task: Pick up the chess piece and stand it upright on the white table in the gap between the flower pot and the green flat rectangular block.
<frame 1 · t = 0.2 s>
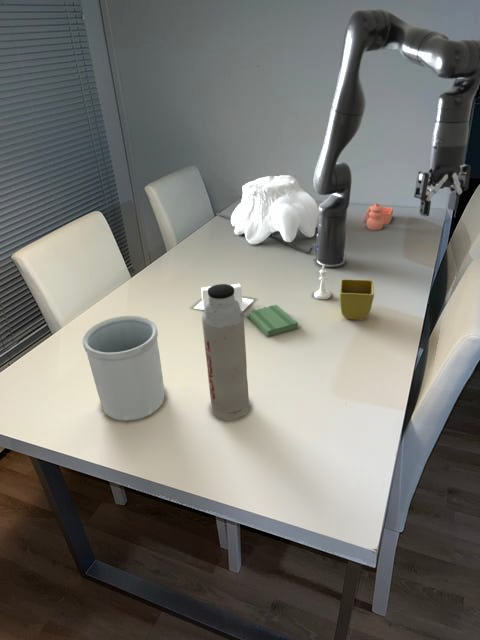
hand: (438, 212, 117), 29 cm above the table, tool pointing down, fingers open, 8 cm apart
tree stump: (275, 229, 201), on the table
utensil holder: (134, 401, 107), on the table
flower pot: (354, 316, 135), on the table
pottery: (377, 223, 201), on the table
napkin holder: (223, 304, 145), on the table
green flat rectangular block: (272, 322, 134), on the table
chess piece: (322, 296, 147), on the table
thermos bottle: (230, 408, 103), on the table
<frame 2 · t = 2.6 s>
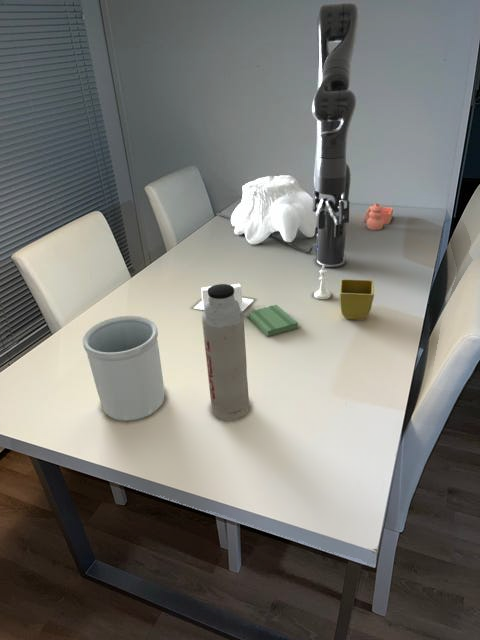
hand: (329, 232, 136), 20 cm above the table, tool pointing down, fingers open, 8 cm apart
nothing on the table moved.
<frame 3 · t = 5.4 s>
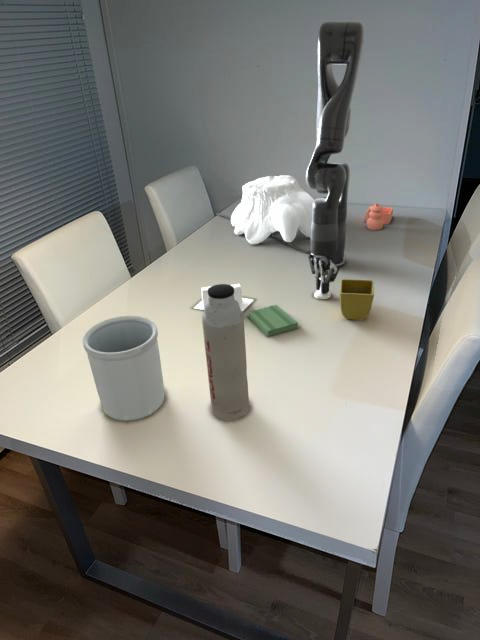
hand: (322, 290, 146), 2 cm above the table, tool pointing down, fingers closed on chess piece
chess piece: (322, 296, 147), on the table, touching gripper
everything else where it was.
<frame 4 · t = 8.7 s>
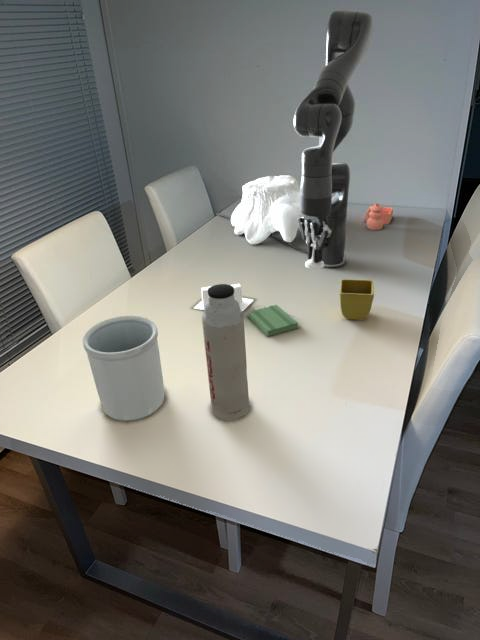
hand: (314, 259, 126), 18 cm above the table, tool pointing down, fingers closed on chess piece
chess piece: (314, 266, 127), point 16 cm above the table, touching gripper
everything else where it was.
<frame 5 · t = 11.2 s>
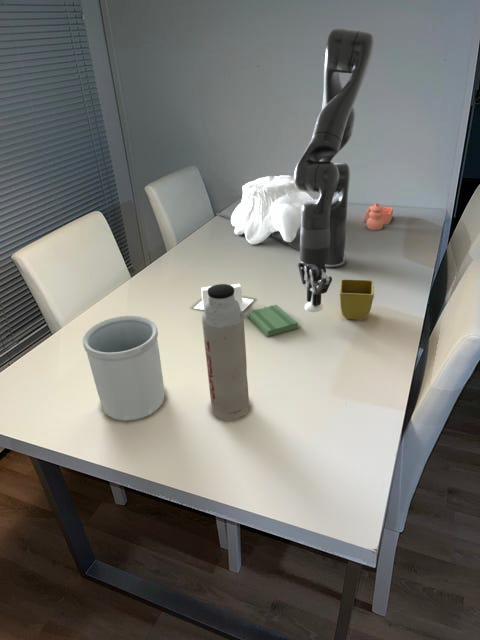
hand: (313, 302, 132), 5 cm above the table, tool pointing down, fingers closed on chess piece
chess piece: (313, 308, 133), point 3 cm above the table, touching gripper
everything else where it was.
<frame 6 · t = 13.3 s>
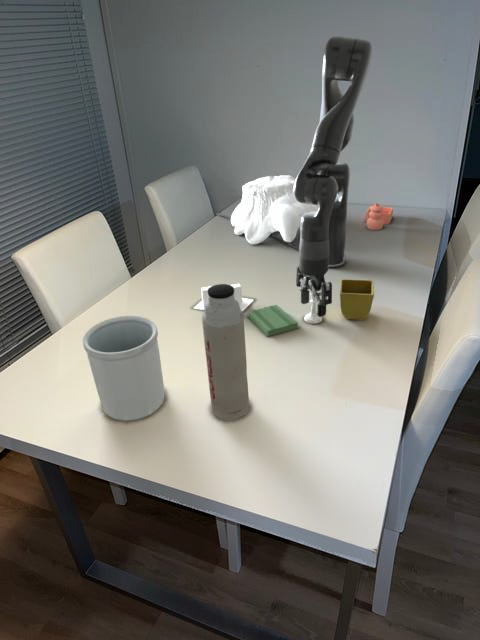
hand: (312, 309, 133), 3 cm above the table, tool pointing down, fingers open, 8 cm apart
chess piece: (313, 319, 134), on the table
everything else where it was.
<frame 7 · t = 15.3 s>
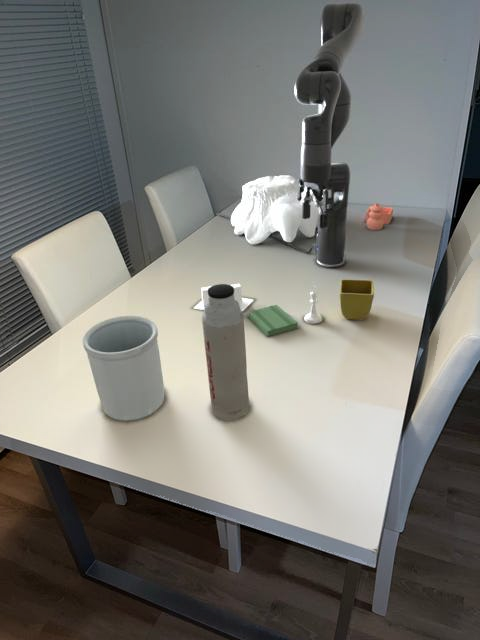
hand: (314, 222, 130), 25 cm above the table, tool pointing down, fingers open, 8 cm apart
nothing on the table moved.
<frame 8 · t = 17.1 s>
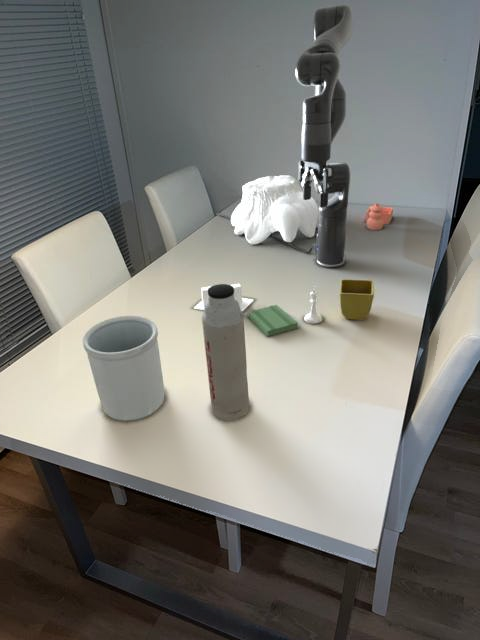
hand: (314, 202, 134), 28 cm above the table, tool pointing down, fingers open, 8 cm apart
nothing on the table moved.
at the end: chess piece 0.1 cm from the target spot, on the table; chess piece tilted 0°; the gripper is holding nothing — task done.
